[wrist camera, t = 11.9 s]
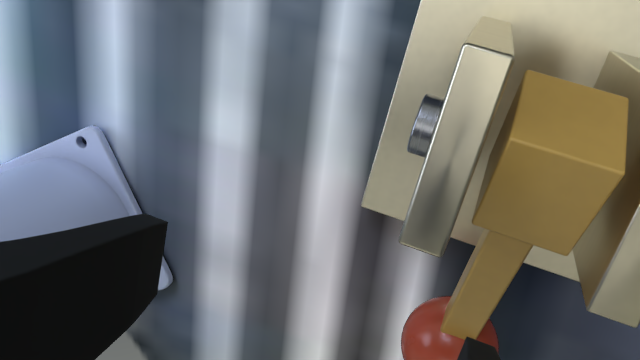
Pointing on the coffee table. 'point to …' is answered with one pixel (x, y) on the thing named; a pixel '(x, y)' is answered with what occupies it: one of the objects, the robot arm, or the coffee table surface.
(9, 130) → the coffee table surface
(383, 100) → the coffee table surface
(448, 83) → the tap bracket
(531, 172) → the lever
